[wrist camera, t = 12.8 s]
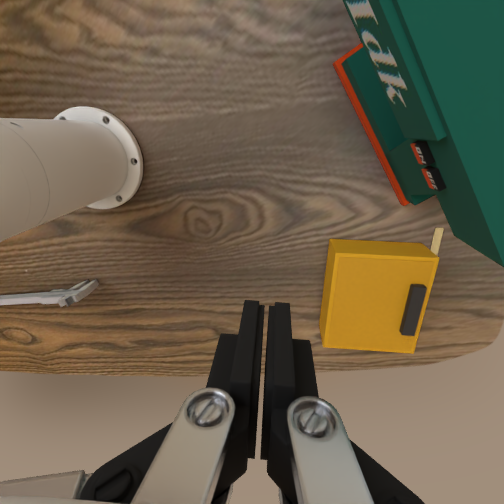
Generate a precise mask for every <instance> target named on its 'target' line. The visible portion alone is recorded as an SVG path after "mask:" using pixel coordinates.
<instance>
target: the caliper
mask: <svg viewBox="0 0 504 504" xmlns="http://www.w3.org/2000/svg"><path fill="white" fill-rule="evenodd" d="M98 286H99V284H98V282H97V280H96V279H94V280H93V281H91V282H89V280H86V281H83V282H81V283H79V284H77V285H75V286H73V287H72V288H70V289H67V290H65V289H53V290H52V291H50V292H41V293H28V294H14V295H0V305H12V304H29V303H42V304H55V303H59V305H60V306H61V307H62V306H64V305H67V307H68V306H69V305H71V304H72V303H74V302H78V301H80V300H81V299H83V298H84V297H86V296H87V295H89V294H90V293H91V292H92V291H93V290H94V289H96V288H97V287H98Z"/></svg>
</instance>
